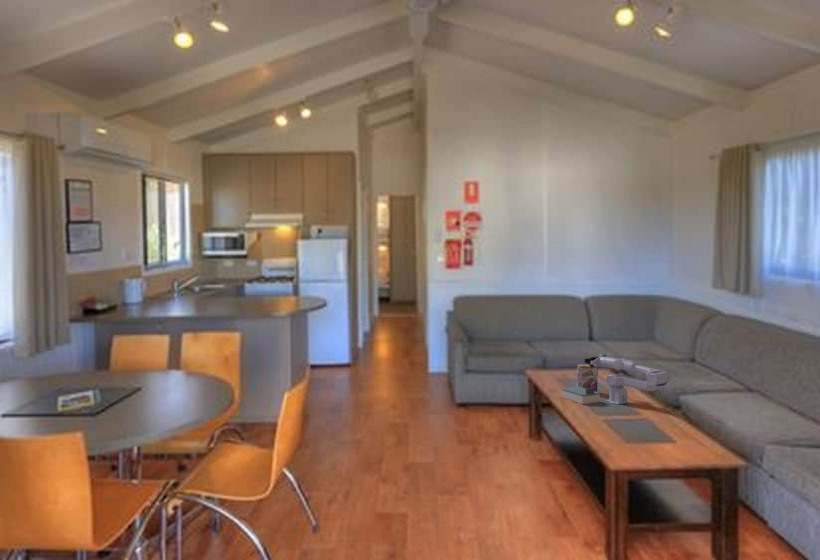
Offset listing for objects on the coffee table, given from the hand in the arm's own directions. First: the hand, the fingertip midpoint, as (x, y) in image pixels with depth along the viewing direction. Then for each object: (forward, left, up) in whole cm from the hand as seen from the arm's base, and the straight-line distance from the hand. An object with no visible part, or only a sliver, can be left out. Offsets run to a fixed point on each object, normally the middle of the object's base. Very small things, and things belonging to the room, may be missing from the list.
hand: (589, 359), depth 394 cm
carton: (-7, +13, -20) cm, 25 cm away
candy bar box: (+5, -2, -21) cm, 21 cm away
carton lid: (-7, +13, -16) cm, 22 cm away
